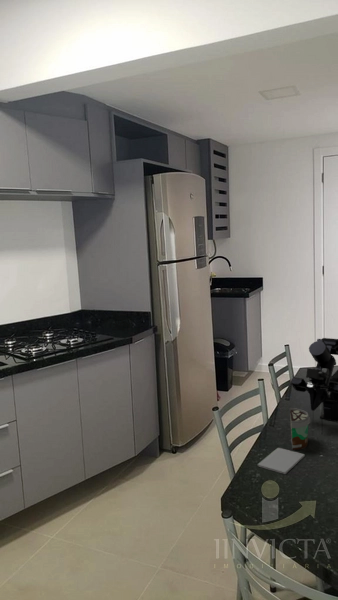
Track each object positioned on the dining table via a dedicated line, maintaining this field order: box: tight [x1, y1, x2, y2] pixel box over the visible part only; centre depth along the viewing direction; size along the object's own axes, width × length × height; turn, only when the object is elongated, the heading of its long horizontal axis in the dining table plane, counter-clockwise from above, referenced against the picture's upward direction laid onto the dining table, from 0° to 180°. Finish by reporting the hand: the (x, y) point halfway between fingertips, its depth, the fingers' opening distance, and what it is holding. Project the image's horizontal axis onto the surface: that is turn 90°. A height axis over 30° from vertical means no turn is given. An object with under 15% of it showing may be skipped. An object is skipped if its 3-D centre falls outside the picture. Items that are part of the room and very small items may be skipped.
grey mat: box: [257, 447, 305, 475], centre depth 143 cm, size 13×9×1 cm
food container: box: [289, 407, 311, 451], centre depth 153 cm, size 12×6×10 cm, turn 168°
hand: (312, 410), depth 159 cm, fingers closed
